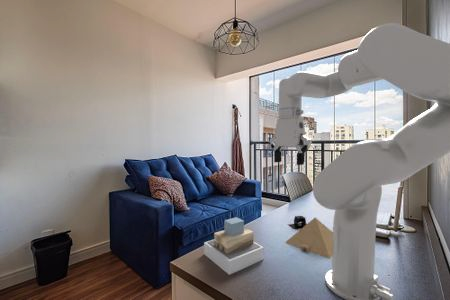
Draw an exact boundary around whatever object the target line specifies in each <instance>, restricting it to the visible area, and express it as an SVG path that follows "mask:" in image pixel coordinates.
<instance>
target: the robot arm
mask: <svg viewBox="0 0 450 300" xmlns="http://www.w3.org/2000/svg"><path fill="white" fill-rule="evenodd" d="M382 80H384V81H386V82H388V83H390V84H391V85H392V86H394V87H396V88H397V89H400V90H401V91H403V92H405V93H407V94H409V95H410V96H413V97H414V98H417V99H420V100H423V101H424V100H425V101H428V102H435V103H434V105H432V107H429V108H430V109H427V110H426V111H423V112H422V113H421V114H419V115H418V116H416V117H414V118H413V119H411V120H410V121H408V122H407V123H406V124H405V125H404V126H402V127H401V128H400V129H398V130H397V131H396V132H394V133H393V134H391V135H390V136H388V137H387V138H383V139H369V140H363V141H359V142H357V143H355V144H353V145H351V146H350V147H348V148H347V149H345V150H344V151H343V152H342V153H340V155H338V156H337V157H336V158H334V160H332V161H331V162H330V163H329V164H328V165H327V166H326V167H324V168H323V169H322V170H321V171H320V172H319V173H318V174H317V176H316V177H315V179H314V181H313V183H312V194H313V198H314V199H315V201H316V202H317V203H318V204H319V205H320V206H321V207H324V209H328V210H333V211H334V214H333V225H332V226H333V227H332V232H333V250H332V257H331V260H332V261H331V270H328V271H327V272H326V273H325V284H326V285H327V287H328V289H330V290H331V291H332V292H333V293H334V294H335V295H336V296H339V297H340V298H342V299H344V300H395V295H394V294H393V293H392V288H390V287H387V286H386V285H385V286H384V285H382V284H381V282H379V276H378V275H377V274H375V256H376V255H375V254H376V234H377V219H378V212H379V207H380V203H381V199H382V193H383V190H382V186H386V185H393V184H397V183H401V182H403V181H405V180H408V179H409V178H410V177H412V176H414V174H417V173H418V172H419V171H420V172H421V170H423V169H424V168H426V167H428V166H429V165H431V164H432V163H434V162H436V161H438V160H439V159H441V158H442V157H444V156H446V155H447V154H449V153H450V43H449V42H446V41H443V40H441V39H437V38H435V37H432V36H430V35H427V34H424V33H421V32H418V31H416V30H414V29H412V28H410V27H408V26H406V25H402V24H400V23H397V22H396V23H394V22H389V23H385V24H380V25H378V26H376V27H374V28H372V29H371V30H370V31H369V32H367V33H366V35H364V36H363V38H362V39H361V41H360V42H359V44H358V47H357V50H354V51H351V52H348V53H346V54H345V55H343V56H342V57H341V58H340V60H339V63H338V65H337V70H336V71H334V72H333V71H332V72H330V73H327V74H322V73H315V72H311V71H304V70H300V71H297V72H295V73H294V74H292V75H290V76H289V77H286V78H285V77H284V78H283V79H281V80H280V81H279V82H278V115H277V116H278V119H277V120H276V124H275V131H274V132H275V133H274V135H273V137H271V138H270V139H269V143H270V147H271V148H272V151H273V152H274V153H273V154H274V155H273V157H274V158H273V159H274V160H273V161H274V163H281V162H282V151H281V150H282V148H295V149H296V150H297V153H296V165H297V166H302V165H305V157H306V156H305V154H306V153H307V151H308V150H309V149H310V147H311V144H312V143H313V140H312V139H311V138H309V137H308V136H306V130H305V121H304V118H303V117H301V116H302V115H304V110H303V109H302V97H304V98H312V99H313V98H314V99H327V98H329V97H330V98H331V97H335V96H338V95H342V94H345V93H346V92H348V91H350V90H351V89H353V88H354V87H358V86H362V85H365V84H369V83H374V82H378V81H382Z"/></svg>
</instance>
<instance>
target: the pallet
mask: <svg viewBox="0 0 450 300" xmlns="http://www.w3.org/2000/svg"><path fill="white" fill-rule="evenodd" d="M213 235H214V237H213V238H214V239H213V240H214V245H215V246H217V247H218V246H219V249H221V250H224V252H225V253H226V254H227V253H230V252H233V251H235V250H238V249H241V248H243V247H246V246H248V245H251V244H253V242H254V231H252V230H250V229H248V228H246V227H245V226H244V233H242V234H239V235H235V236H232V237H231V236H230V235H228V234H226V233H225V232H224V230H219V231H217V232H214V234H213Z"/></svg>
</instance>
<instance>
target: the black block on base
mask: <svg viewBox="0 0 450 300" xmlns="http://www.w3.org/2000/svg"><path fill="white" fill-rule="evenodd" d="M307 224H308V223H307V219H306V217H305V216H303V215H295V216H294V218H293V223H290V224H286V225H287V226H288V227H290V228H291V229H293V230H301V229H302V228H303V227H304V226H305V225H307Z"/></svg>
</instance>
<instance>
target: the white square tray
mask: <svg viewBox="0 0 450 300" xmlns="http://www.w3.org/2000/svg"><path fill="white" fill-rule="evenodd" d="M203 254H204V256H206V257H207V258H208V259H210V260H211V261H212V262H213V263H214V264H215V265H216V266H218V267H219V268H220V269H221V270H223V271H224V272H225V273H226V274H227V275H229V276H230V275H233V274H234V273H237V272H239V271H241V270H244V269H246V268H248V267H250V266H252V265H254V264H256V263H259V262H261V261H263V260H264V257H265V255H264V254H265V247H264V246H262V245H260V244H259V243H257V242H255V241H253V244H251V245H248V246H246V247H243V248H241V249H238V250H235V251H233V252H230V253H227V254H226V253H225V252H224V250H221V249H219V246H218V247H217V246H215V245H214V239H211V240H208V241H205V242H203Z"/></svg>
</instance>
